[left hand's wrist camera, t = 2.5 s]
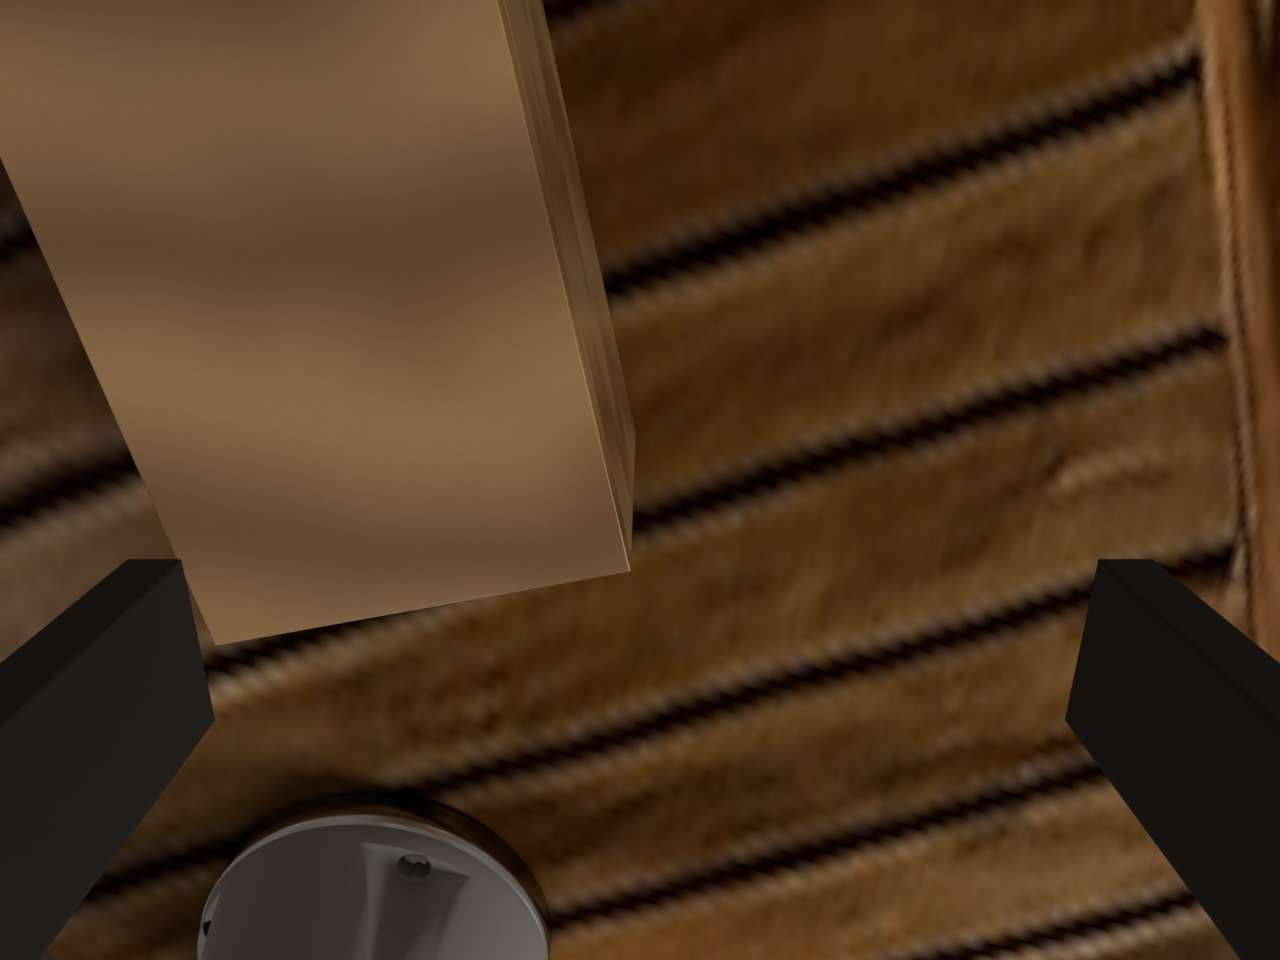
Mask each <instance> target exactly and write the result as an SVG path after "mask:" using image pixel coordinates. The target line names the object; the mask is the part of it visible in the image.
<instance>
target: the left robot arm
mask: <svg viewBox="0 0 1280 960" xmlns="http://www.w3.org/2000/svg"><path fill="white" fill-rule="evenodd" d="M214 721H215V717H214V713H213V708H212V703H211V698H210V694H209V689H208V684H207V679H206V674H205V670H204V665H203V660H202V655H201V651H200V646H199V641H198V636H197V632H196V627H195V622H194V617H193V612H192V608H191V603H190V598H189V593H188V589H187V584H186V579H185V574H184V569H183V565H182V560H181V559H128V560H126V561H125V562H124V563H123V564H122V565H120V566H119V567H118V568H117V569H115V570H114V571H113V572H112V573H110V574H109V575H108V576H107V577H106V578H104V579H103V580H102V581H101V582H99V583H98V584H97V585H96V586H95V587H93V588H92V589H91V590H90V591H88V592H87V593H86V594H85V595H84V596H82V597H81V598H80V599H79V600H77V601H76V602H75V603H74V604H73V605H71V606H70V607H69V608H68V609H66V610H65V611H64V612H63V613H62V614H60V615H59V616H58V617H57V618H55V619H54V620H53V621H52V622H51V623H49V624H48V625H47V626H46V627H44V628H43V629H42V630H41V631H40V632H38V633H37V634H36V635H35V636H33V637H32V638H31V639H30V640H29V641H27V642H26V643H25V644H24V645H22V646H21V647H20V648H19V649H17V650H16V651H15V652H14V653H13V654H11V655H10V656H9V657H8V658H6V659H5V660H4V661H3V662H2V663H0V960H57V959H56V958H55V957H53V956H52V955H50V954H49V953H47V952H46V950H47V948H48V947H49V946H50V944H51V943H52V942H53V940H54V939H55V937H56V936H57V935H58V933H59V932H60V931H61V929H62V928H63V927H64V925H65V924H66V922H67V921H68V920H69V918H70V917H71V916H72V914H73V913H74V912H75V910H76V909H77V907H78V906H79V905H80V903H81V902H82V901H83V899H84V898H85V897H86V895H87V894H88V892H89V891H90V890H91V888H92V887H93V886H94V884H95V883H96V882H97V880H98V879H99V877H100V876H101V875H102V873H103V872H104V871H105V869H106V868H107V867H108V865H109V864H110V862H111V861H112V860H113V858H114V857H115V856H116V854H117V853H118V852H119V850H120V849H121V847H122V846H123V845H124V843H125V842H126V841H127V839H128V838H129V837H130V835H131V834H132V833H133V831H134V830H135V828H136V827H137V826H138V824H139V823H140V822H141V820H142V819H143V818H144V816H145V815H146V813H147V812H148V811H149V809H150V808H151V807H152V805H153V804H154V803H155V801H156V800H157V798H158V797H159V796H160V794H161V793H162V792H163V790H164V789H165V788H166V786H167V785H168V783H169V782H170V781H171V779H172V778H173V777H174V775H175V774H176V773H177V771H178V770H179V768H180V767H181V766H182V764H183V763H184V762H185V760H186V759H187V758H188V756H189V755H190V753H191V752H192V751H193V749H194V748H195V747H196V745H197V744H198V743H199V741H200V740H201V738H202V737H203V736H204V734H205V733H206V732H207V730H208V729H209V728H210V726H211V725H212V723H213V722H214ZM1065 721H1066V722H1067V723H1068V725H1069V726H1070V728H1071V729H1072V730H1073V732H1074V733H1075V734H1076V736H1077V737H1078V738H1079V740H1080V741H1081V743H1082V744H1083V745H1084V747H1085V748H1086V749H1087V751H1088V752H1089V753H1090V755H1091V756H1092V758H1093V759H1094V760H1095V762H1096V763H1097V764H1098V766H1099V767H1100V768H1101V770H1102V771H1103V773H1104V774H1105V775H1106V777H1107V778H1108V779H1109V781H1110V782H1111V783H1112V785H1113V786H1114V788H1115V789H1116V790H1117V792H1118V793H1119V794H1120V796H1121V797H1122V798H1123V800H1124V801H1125V803H1126V804H1127V805H1128V807H1129V808H1130V809H1131V811H1132V812H1133V813H1134V815H1135V816H1136V818H1137V819H1138V820H1139V822H1140V823H1141V824H1142V826H1143V827H1144V828H1145V830H1146V831H1147V833H1148V834H1149V835H1150V837H1151V838H1152V839H1153V841H1154V842H1155V843H1156V845H1157V846H1158V847H1159V849H1160V850H1161V852H1162V853H1163V854H1164V856H1165V857H1166V858H1167V860H1168V861H1169V862H1170V864H1171V865H1172V867H1173V868H1174V869H1175V871H1176V872H1177V873H1178V875H1179V876H1180V877H1181V879H1182V880H1183V882H1184V883H1185V884H1186V886H1187V887H1188V888H1189V890H1190V891H1191V892H1192V894H1193V895H1194V897H1195V898H1196V899H1197V901H1198V902H1199V903H1200V905H1201V906H1202V907H1203V909H1204V910H1205V912H1206V913H1207V914H1208V916H1209V917H1210V918H1211V920H1212V921H1213V922H1214V924H1215V925H1216V927H1217V928H1218V929H1219V931H1220V932H1221V933H1222V935H1223V936H1224V937H1225V939H1226V940H1227V942H1228V943H1229V944H1230V946H1231V947H1232V948H1233V950H1234V951H1235V952H1236V954H1237V955H1238V957H1239V958H1240V959H1241V960H1280V663H1278V662H1277V661H1276V660H1275V659H1274V658H1272V657H1271V656H1270V655H1269V654H1267V653H1266V652H1265V651H1264V650H1263V649H1261V648H1260V647H1259V646H1258V645H1256V644H1255V643H1254V642H1253V641H1251V640H1250V639H1249V638H1248V637H1247V636H1245V635H1244V634H1243V633H1242V632H1240V631H1239V630H1238V629H1237V628H1236V627H1234V626H1233V625H1232V624H1231V623H1229V622H1228V621H1227V620H1226V619H1225V618H1223V617H1222V616H1221V615H1220V614H1218V613H1217V612H1216V611H1215V610H1214V609H1212V608H1211V607H1210V606H1209V605H1207V604H1206V603H1205V602H1204V601H1203V600H1201V599H1200V598H1199V597H1198V596H1196V595H1195V594H1194V593H1193V592H1192V591H1190V590H1189V589H1188V588H1187V587H1185V586H1184V585H1183V584H1182V583H1181V582H1179V581H1178V580H1177V579H1176V578H1174V577H1173V576H1172V575H1171V574H1170V573H1168V572H1167V571H1166V570H1165V569H1163V568H1162V567H1161V566H1160V565H1158V564H1157V563H1156V562H1155V561H1154V560H1152V559H1099V560H1098V565H1097V569H1096V574H1095V579H1094V584H1093V589H1092V593H1091V598H1090V603H1089V608H1088V612H1087V617H1086V622H1085V627H1084V632H1083V636H1082V641H1081V646H1080V651H1079V655H1078V660H1077V665H1076V670H1075V674H1074V679H1073V684H1072V689H1071V694H1070V698H1069V703H1068V708H1067V713H1066V717H1065ZM551 940H552V925H551V917H550V912H549V908H548V904H547V901H546V899H545V896H544V894H543V891H542V889H541V887H540V885H539V883H538V882H537V880H536V878H535V876H534V875H533V874H532V872H531V871H530V869H529V868H528V866H527V865H526V864H525V863H524V862H523V860H522V859H521V858H520V857H519V856H518V855H517V854H516V853H515V852H514V851H513V850H512V849H511V848H510V847H509V846H508V845H507V844H506V843H504V842H503V841H502V840H501V839H499V838H498V837H497V836H496V835H494V834H493V833H491V832H490V831H488V830H487V829H485V828H484V827H482V826H481V825H479V824H477V823H475V822H473V821H472V820H470V819H468V818H466V817H464V816H462V815H459V814H457V813H455V812H453V811H450V810H448V809H445V808H442V807H439V806H436V805H433V804H430V803H426V802H422V801H419V800H414V799H409V798H404V797H397V796H388V795H373V794H358V795H343V796H335V797H329V798H324V799H319V800H315V801H311V802H308V803H305V804H301V805H298V806H296V807H293V808H291V809H289V810H286V811H284V812H282V813H280V814H278V815H276V816H274V817H273V818H271V819H269V820H268V821H266V822H265V823H263V824H262V825H260V826H259V827H258V828H257V829H255V830H254V831H253V832H252V833H251V834H250V835H248V836H247V838H246V839H245V840H244V841H243V842H242V843H241V844H240V845H239V846H238V848H237V849H236V851H235V852H234V853H233V855H232V856H231V858H230V860H229V861H228V863H227V865H226V867H225V868H224V870H223V872H222V874H221V875H220V877H219V879H218V881H217V882H216V884H215V886H214V888H213V889H212V891H211V893H210V895H209V897H208V899H207V902H206V905H205V907H204V910H203V915H202V919H201V925H200V931H199V937H198V946H197V959H198V960H549V957H550V949H551Z"/></svg>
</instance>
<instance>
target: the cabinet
mask: <svg viewBox="0 0 1280 960" xmlns="http://www.w3.org/2000/svg"><path fill="white" fill-rule="evenodd" d="M0 158H1V160H2V163H3V165H4V167H5V169H6V172H7V174H8V176H9V178H10V181H11V183H12V185H13V187H14V190H15V192H16V194H17V197H18V199H19V201H20V203H21V206H22V208H23V210H24V212H25V215H26V217H27V219H28V222H29V224H30V226H31V228H32V231H33V233H34V235H35V237H36V240H37V242H38V244H39V246H40V249H41V251H42V253H43V256H44V258H45V260H46V262H47V265H48V267H49V269H50V271H51V274H52V276H53V278H54V280H55V283H56V285H57V287H58V290H59V292H60V294H61V296H62V299H63V301H64V303H65V305H66V308H67V310H68V312H69V315H70V317H71V319H72V321H73V324H74V326H75V328H76V330H77V333H78V335H79V337H80V339H81V342H82V344H83V346H84V349H85V351H86V353H87V355H88V358H89V360H90V362H91V364H92V367H93V369H94V371H95V373H96V376H97V378H98V380H99V383H100V385H101V387H102V389H103V392H104V394H105V396H106V398H107V401H108V403H109V405H110V408H111V410H112V412H113V414H114V417H115V419H116V421H117V423H118V426H119V428H120V430H121V432H122V435H123V437H124V439H125V442H126V444H127V446H128V448H129V451H130V453H131V455H132V457H133V460H134V462H135V464H136V466H137V469H138V471H139V473H140V476H141V478H142V480H143V482H144V485H145V487H146V489H147V491H148V494H149V496H150V498H151V500H152V503H153V505H154V507H155V510H156V512H157V514H158V516H159V519H160V521H161V523H162V525H163V528H164V530H165V532H166V535H167V537H168V539H169V541H170V544H171V546H172V548H173V550H174V553H175V555H176V557H177V559H181V560H182V565H183V569H184V574H185V578H186V580H187V582H188V584H189V587H190V589H191V591H192V593H193V596H194V598H195V600H196V603H197V605H198V607H199V609H200V612H201V614H202V616H203V618H204V621H205V623H206V625H207V628H208V630H209V632H210V634H211V637H212V639H213V641H214V643H215V645H221V644H227V643H232V642H238V641H244V640H249V639H255V638H260V637H266V636H271V635H277V634H283V633H288V632H294V631H299V630H305V629H311V628H316V627H322V626H327V625H333V624H338V623H344V622H350V621H355V620H361V619H366V618H372V617H377V616H383V615H389V614H394V613H400V612H405V611H411V610H417V609H422V608H428V607H433V606H439V605H444V604H450V603H456V602H461V601H467V600H472V599H478V598H484V597H489V596H495V595H500V594H506V593H511V592H517V591H523V590H528V589H534V588H539V587H545V586H551V585H556V584H562V583H567V582H573V581H578V580H584V579H590V578H595V577H601V576H606V575H612V574H618V573H623V572H629V571H630V569H631V539H632V513H633V488H634V462H635V433H636V432H635V427H634V422H633V418H632V413H631V409H630V404H629V399H628V395H627V390H626V385H625V381H624V376H623V372H622V367H621V362H620V358H619V353H618V349H617V344H616V339H615V335H614V330H613V326H612V321H611V316H610V312H609V307H608V302H607V298H606V293H605V289H604V284H603V279H602V275H601V270H600V266H599V261H598V256H597V252H596V247H595V242H594V238H593V233H592V229H591V224H590V219H589V215H588V210H587V206H586V201H585V196H584V192H583V187H582V182H581V178H580V173H579V169H578V164H577V159H576V155H575V150H574V146H573V141H572V136H571V132H570V127H569V123H568V118H567V113H566V109H565V104H564V99H563V95H562V90H561V86H560V81H559V76H558V72H557V67H556V63H555V58H554V53H553V49H552V44H551V39H550V35H549V30H548V26H547V21H546V16H545V12H544V7H543V3H542V0H0Z"/></svg>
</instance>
